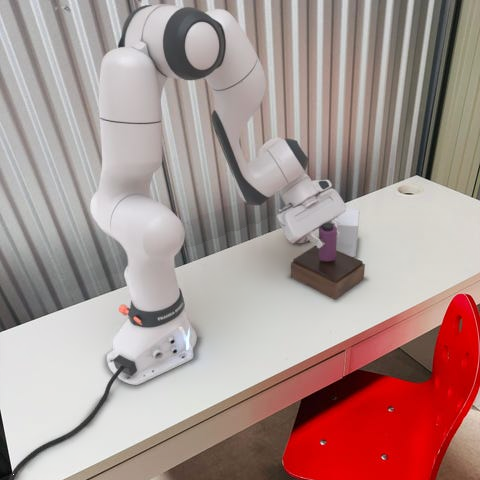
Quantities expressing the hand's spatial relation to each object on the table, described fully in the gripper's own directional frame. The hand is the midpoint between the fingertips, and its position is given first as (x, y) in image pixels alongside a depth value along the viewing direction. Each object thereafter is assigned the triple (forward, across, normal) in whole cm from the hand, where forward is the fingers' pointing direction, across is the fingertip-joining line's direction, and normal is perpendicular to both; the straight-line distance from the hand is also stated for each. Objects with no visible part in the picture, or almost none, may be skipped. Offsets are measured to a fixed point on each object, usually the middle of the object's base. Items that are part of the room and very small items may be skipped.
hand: (329, 241), depth 121 cm
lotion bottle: (+3, 0, +4) cm, 5 cm away
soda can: (-6, +11, +23) cm, 26 cm away
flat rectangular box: (+8, 0, +9) cm, 12 cm away
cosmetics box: (+4, +16, +13) cm, 21 cm away
